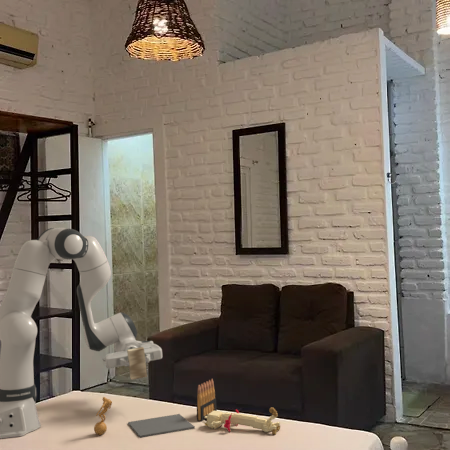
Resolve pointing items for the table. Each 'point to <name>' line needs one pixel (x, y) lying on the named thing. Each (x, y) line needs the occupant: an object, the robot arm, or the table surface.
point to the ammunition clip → (206, 400)
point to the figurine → (101, 426)
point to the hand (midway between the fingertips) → (137, 362)
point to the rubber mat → (160, 425)
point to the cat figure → (242, 420)
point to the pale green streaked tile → (137, 363)
